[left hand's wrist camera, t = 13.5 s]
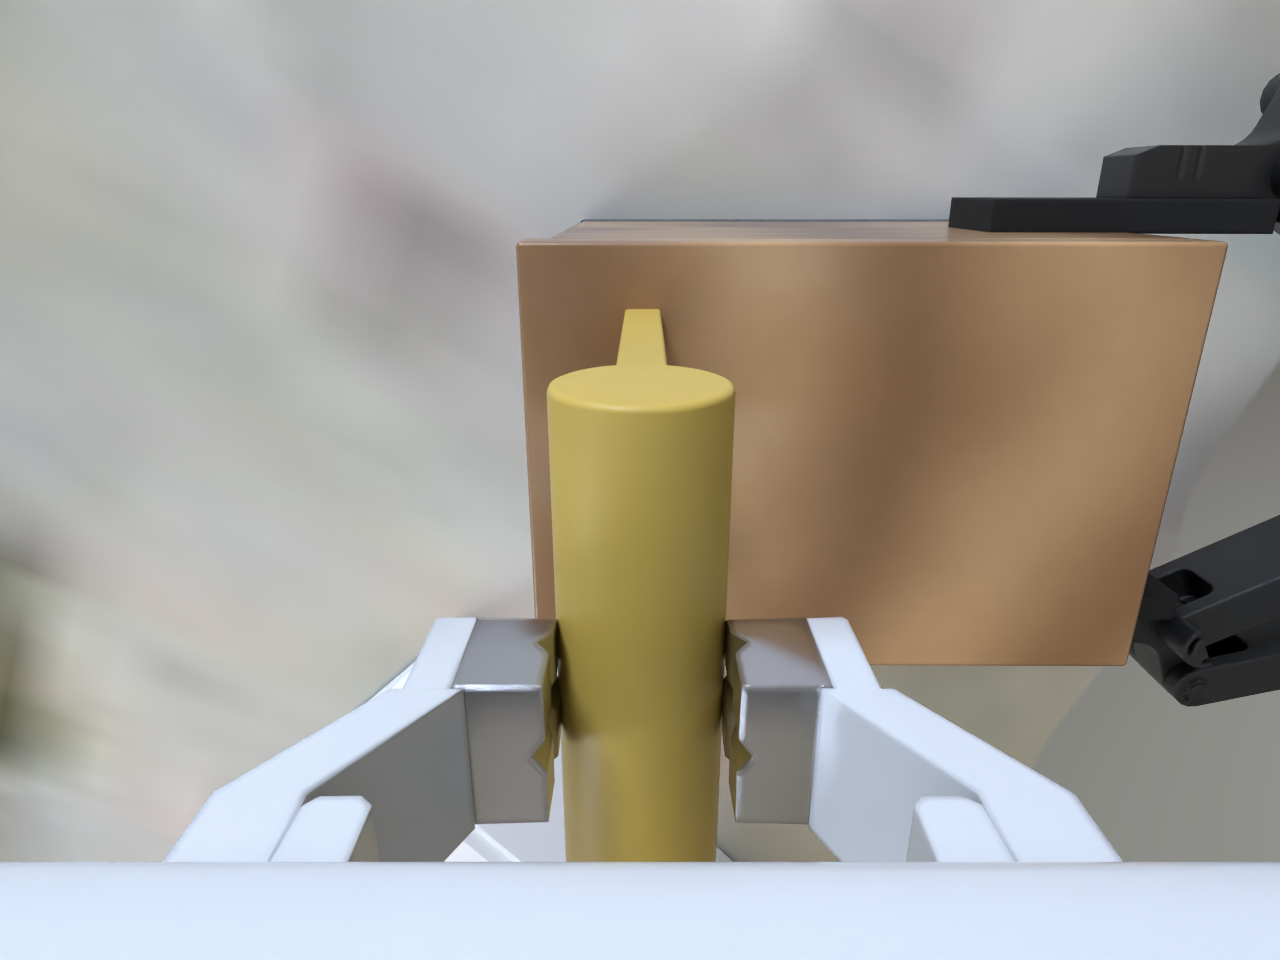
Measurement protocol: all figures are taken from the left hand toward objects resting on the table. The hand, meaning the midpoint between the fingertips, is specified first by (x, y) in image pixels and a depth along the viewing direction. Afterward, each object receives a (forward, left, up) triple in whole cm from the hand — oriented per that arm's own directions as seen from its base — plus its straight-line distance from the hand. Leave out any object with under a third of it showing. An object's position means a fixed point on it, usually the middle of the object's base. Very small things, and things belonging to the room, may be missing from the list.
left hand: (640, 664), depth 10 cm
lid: (+2, -4, -8) cm, 9 cm away
